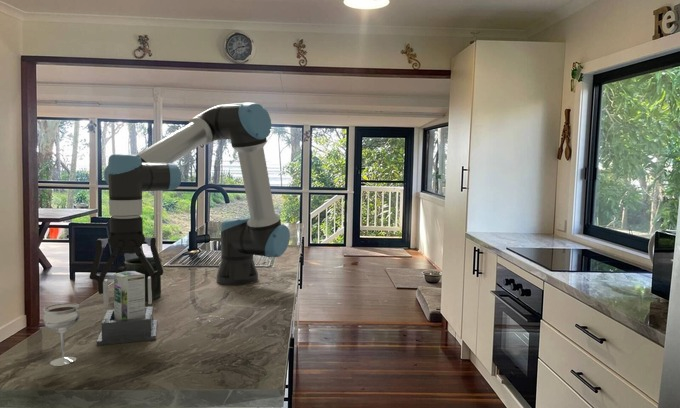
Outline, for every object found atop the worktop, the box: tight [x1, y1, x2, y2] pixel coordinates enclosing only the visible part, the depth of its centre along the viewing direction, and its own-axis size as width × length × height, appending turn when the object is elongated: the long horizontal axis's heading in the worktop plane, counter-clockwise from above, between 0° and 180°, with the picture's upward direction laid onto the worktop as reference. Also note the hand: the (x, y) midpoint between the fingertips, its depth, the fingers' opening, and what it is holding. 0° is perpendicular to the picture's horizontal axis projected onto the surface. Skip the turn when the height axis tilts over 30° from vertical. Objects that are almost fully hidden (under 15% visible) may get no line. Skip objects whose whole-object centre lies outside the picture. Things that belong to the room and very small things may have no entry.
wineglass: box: [43, 302, 80, 367], centre depth 103 cm, size 7×7×12 cm
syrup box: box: [113, 270, 146, 320], centre depth 120 cm, size 6×6×14 cm
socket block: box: [96, 305, 158, 346], centre depth 121 cm, size 13×13×5 cm
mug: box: [115, 256, 163, 301], centre depth 153 cm, size 11×15×12 cm
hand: (128, 304), depth 120 cm, fingers open, 9 cm apart
